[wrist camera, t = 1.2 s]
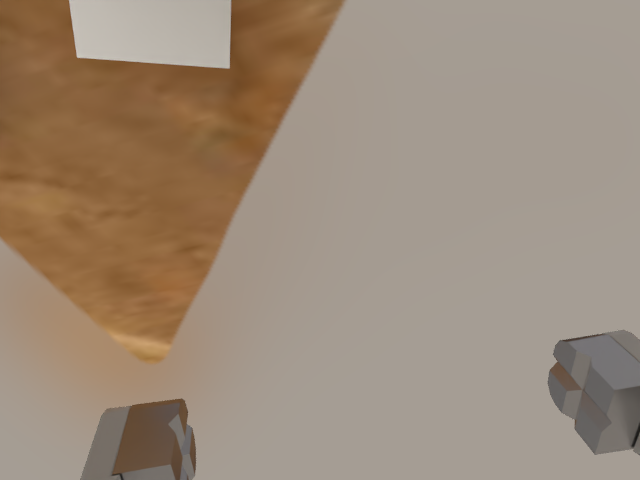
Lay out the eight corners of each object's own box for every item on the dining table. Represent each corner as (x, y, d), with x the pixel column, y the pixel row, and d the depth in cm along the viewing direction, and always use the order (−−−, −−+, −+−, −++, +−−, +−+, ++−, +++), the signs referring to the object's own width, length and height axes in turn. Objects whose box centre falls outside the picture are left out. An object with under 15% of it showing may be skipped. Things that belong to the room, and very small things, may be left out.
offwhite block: (75, -51, 32) (62, -48, 28) (227, -31, 34) (231, -27, 31) (87, 44, 35) (76, 57, 32) (225, 56, 37) (229, 68, 34)
